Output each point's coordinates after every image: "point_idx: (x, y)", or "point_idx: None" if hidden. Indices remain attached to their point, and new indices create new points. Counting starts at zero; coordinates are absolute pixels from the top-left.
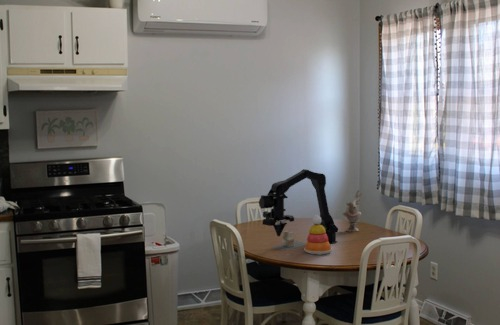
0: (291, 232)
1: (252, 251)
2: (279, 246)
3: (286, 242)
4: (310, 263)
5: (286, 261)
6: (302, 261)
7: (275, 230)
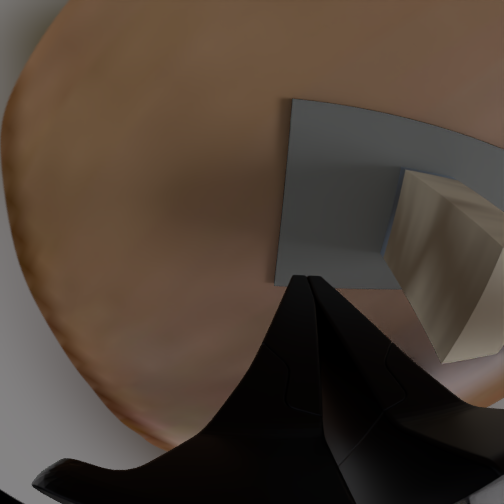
0: (470, 357)
1: (44, 88)
2: (370, 150)
3: (408, 240)
4: (173, 442)
5: (104, 390)
6: (166, 425)
7: (264, 341)
